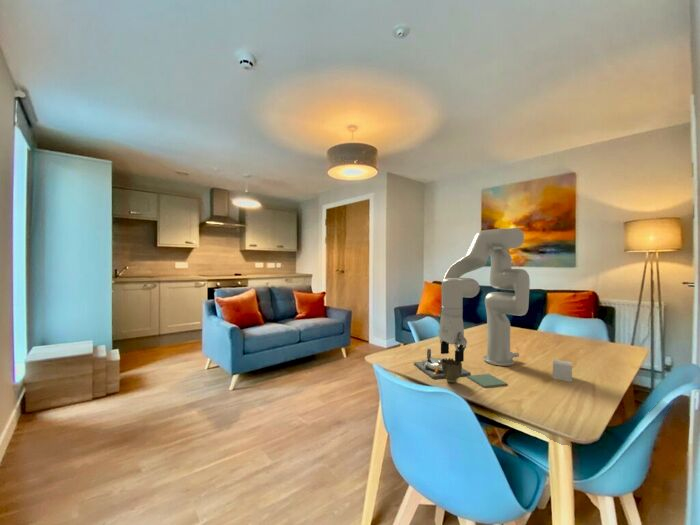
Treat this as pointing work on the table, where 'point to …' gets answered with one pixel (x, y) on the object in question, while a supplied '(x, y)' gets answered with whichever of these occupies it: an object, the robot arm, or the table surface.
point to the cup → (451, 370)
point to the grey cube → (562, 370)
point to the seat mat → (486, 380)
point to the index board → (437, 374)
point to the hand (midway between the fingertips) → (451, 357)
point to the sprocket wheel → (433, 362)
